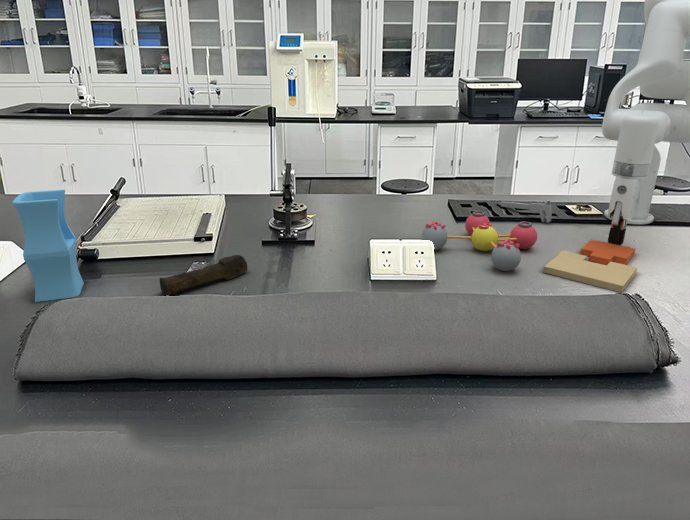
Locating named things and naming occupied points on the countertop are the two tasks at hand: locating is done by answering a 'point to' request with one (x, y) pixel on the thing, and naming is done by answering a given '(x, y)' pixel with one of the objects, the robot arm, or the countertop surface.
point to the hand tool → (204, 275)
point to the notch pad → (590, 271)
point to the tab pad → (607, 252)
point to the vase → (49, 245)
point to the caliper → (533, 208)
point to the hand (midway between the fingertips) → (615, 243)
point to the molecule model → (488, 239)
